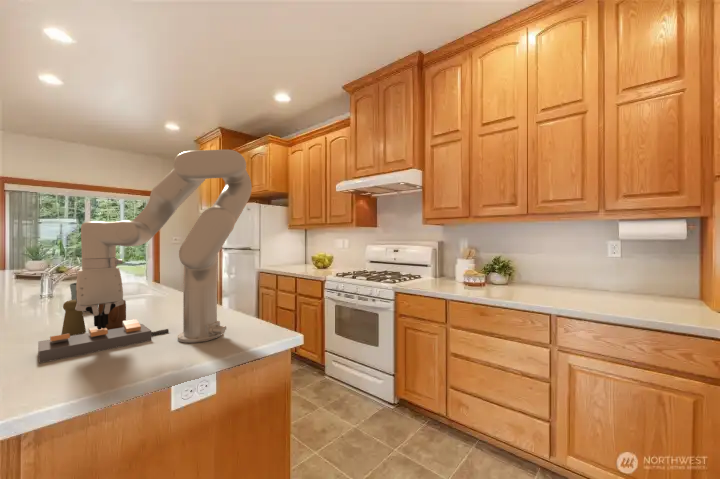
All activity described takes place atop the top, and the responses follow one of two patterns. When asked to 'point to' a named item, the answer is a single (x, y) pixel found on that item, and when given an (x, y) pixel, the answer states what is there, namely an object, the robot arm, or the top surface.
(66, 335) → the rocker
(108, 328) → the mug
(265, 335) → the top surface
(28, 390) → the top surface
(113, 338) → the power strip
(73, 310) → the pepper mill
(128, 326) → the block
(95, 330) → the middle rocker
